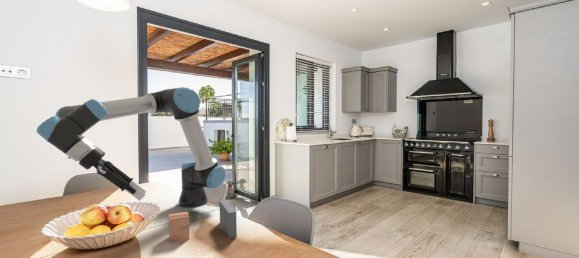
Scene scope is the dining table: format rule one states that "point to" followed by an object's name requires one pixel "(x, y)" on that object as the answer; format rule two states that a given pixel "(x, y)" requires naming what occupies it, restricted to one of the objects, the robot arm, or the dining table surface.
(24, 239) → the dining table surface
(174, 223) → the terracotta block
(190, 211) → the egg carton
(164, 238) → the dining table surface
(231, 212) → the grey board
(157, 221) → the dining table surface
